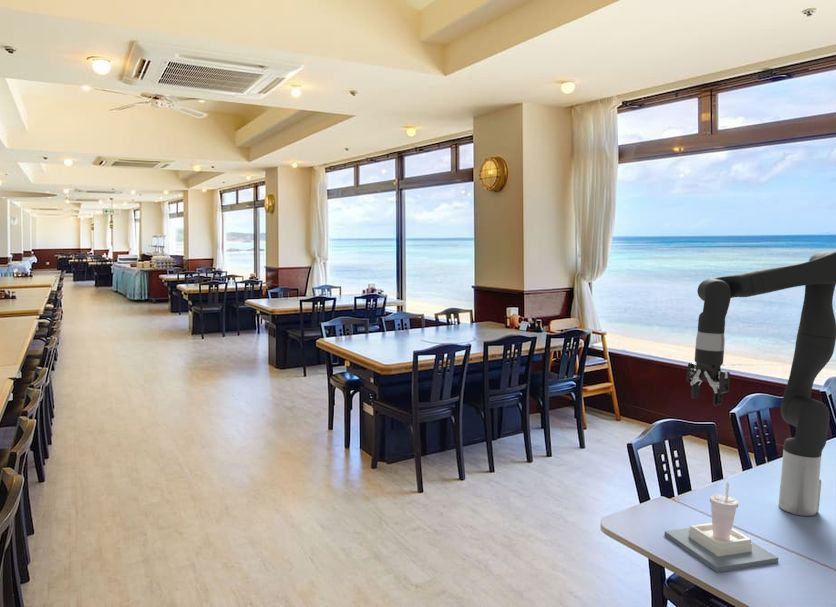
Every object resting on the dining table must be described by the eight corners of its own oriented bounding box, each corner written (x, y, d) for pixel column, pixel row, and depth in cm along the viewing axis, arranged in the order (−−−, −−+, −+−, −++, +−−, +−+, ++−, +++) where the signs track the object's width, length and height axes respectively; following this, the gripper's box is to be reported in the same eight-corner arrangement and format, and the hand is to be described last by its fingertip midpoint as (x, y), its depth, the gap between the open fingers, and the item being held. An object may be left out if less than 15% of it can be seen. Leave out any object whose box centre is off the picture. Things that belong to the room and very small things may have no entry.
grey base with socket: (720, 527, 159) (721, 512, 158) (778, 562, 142) (779, 545, 141) (664, 535, 154) (665, 519, 153) (716, 572, 136) (718, 555, 136)
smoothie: (739, 544, 143) (743, 489, 142) (710, 541, 145) (715, 486, 143) (730, 532, 150) (735, 479, 148) (703, 529, 151) (707, 476, 149)
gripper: (739, 351, 166) (735, 407, 167) (702, 343, 179) (698, 395, 181) (717, 352, 164) (713, 409, 165) (681, 343, 177) (678, 396, 179)
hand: (705, 401), depth 173 cm, fingers open, 8 cm apart
